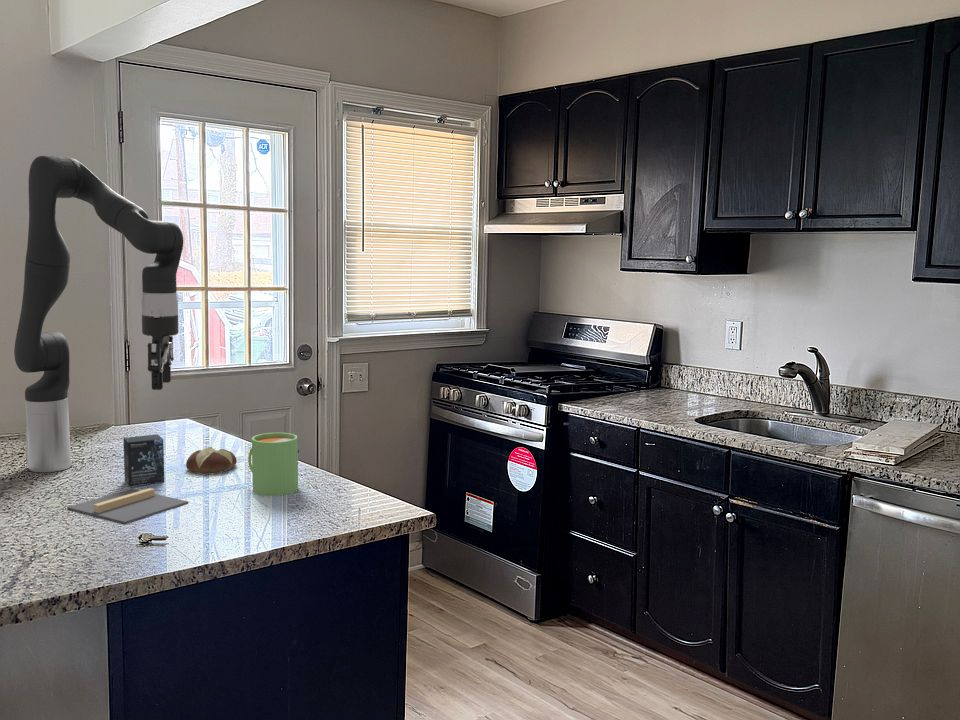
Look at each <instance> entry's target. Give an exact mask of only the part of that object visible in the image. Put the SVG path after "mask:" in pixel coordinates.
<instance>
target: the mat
mask: <svg viewBox="0 0 960 720" xmlns="http://www.w3.org/2000/svg"><path fill="white" fill-rule="evenodd" d="M155 490H156V489H155V488H152V487H151V488H150V487H149V488H145V489H143V490H139V489H137V488H129V489H126V490H122V491H118V492H115V493H111V494H108V495H105V496H101V497H97V498H94V499H91V500H87V501H83V502H80V503H76V504H73V505H69V506H67V507H66V508H67V510H70V511H74V512H77V513H82V514H85V515H89V516H93V517H96V518H101V519H104V520H109V521H113V522H117V523H120V524H126V525H127V524H129V523H131V522H134V521H138V520H141V519H144V518H147V517H151V516H153V515H156V514H159V513H162V512H165V511H169V510H172V509H175V508H177V507H181V506H185V505H187V504H189V501H187V500H183V499H180V498H179V499H178V498H174V497H171V496H167V495H161V494H158V493H155Z"/></svg>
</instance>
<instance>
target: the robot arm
mask: <svg viewBox="0 0 960 720" xmlns="http://www.w3.org/2000/svg"><path fill="white" fill-rule="evenodd" d="M58 198H59V199H71V198H75V199H77V200H82V201H84V202H86V203H88V204H90V205H91V206H92V207H93V208H94V211H95V213H96V215H97V216H98V218H100V220H101V221H102V222H103V223H105V224H106V225H108V226H109V227H111V228H112V229H113V230H115V231H117V232H118V233H119V234H122V235H123V236H124V237H125V239H126V240H127V241H128V242H129V243H130V245H132V247H134V248H135V249H137V250H138V251H139V252H142V253H144V254H152V255H153V254H155V258H154V261H153V263H151V264H148V265H146V266H144V267H143V268H142V271H141V285H142V295H141V334H143V335H144V336H148V337H149V336H151V337H152V339H151V342H148V344H147V371H148V372H150V374H151V376H150V377H151V389H152V390H153V391H161V390H163V388H164V383H170V382H172V381H171V380H172V374H171V373H172V372H171V371H172V370H171V369H172V365H173V362H174V358H175V357H174V343H173V342H174V340H173V339H174V336H176V335H178V334H179V301H178V296H177V289H178V288H177V287H178V286H177V273H178V269H179V266H180V261H181V257H182V253H183V250H184V249H183V248H184V234H183V232H182V229H181V228H180V226H179V225H178V224H177V223H175V222H174V221H170V220H168V221H167V220H150V219H149V215H148V214H147V212H146V211H145V210H144V209H143V208H142V207H141V206H138V205H137V204H136V203H134V202H132V201H131V200H130V199H127V198H126V197H124V196H122V195H120V193H117V192H116V191H115V190H114V189H112V188H111V187H110V186H108V185H107V184H106V183H105V182H103V181H102V180H101V179H100V178H99V177H98V176H96V175H95V173H93V172H92V171H91V170H90V169H89V168H88V167H86V165H84V164H83V163H81V162H80V161H79V160H77V159H76V158H73V157H68V156H67V157H66V156H58V155H57V156H55V155H39V156H37V157H35V158H34V159H33V160H32V162H31V164H30V167H29V172H28V233H27V246H26V252H25V253H26V254H25V264H24V276H23V291H22V300H21V307H20V308H21V309H20V314H19V320H18V325H17V330H16V331H17V332H16V335H15V340H14V353H13V354H14V361H15V365H16V366H17V368H18V369H19V370H20V371H21V372H22V373H38V372H39V373H40V372H43V373H42V376H41V377H40V378H39V379H38V380H37V381H36V382H33V383H32V384H31V385H28V386H27V387H26V388H25V390H24V400H25V416H26V417H25V418H26V419H25V420H26V429H25V432H24V433H25V434H24V435H25V447H26V448H25V449H26V450H25V451H26V452H25V453H26V465H27V468H28V469H29V471H31V472H34V473H52V472H53V473H54V472H59V471H63V470H66V469H69V468H71V467H72V457H71V456H72V455H71V437H70V435H71V434H70V419H69V418H70V413H69V398H68V397H69V395H68V391H69V387H70V367H71V366H70V364H71V363H70V361H71V360H70V358H71V357H70V356H71V355H70V348H69V343H68V340H67V339H66V338H67V337H66V336H65V335H64V334H62V333H61V332H59V331H48V332H47V331H46V332H42V330H43V326H44V322H45V320H46V317H47V315H48V314H49V312H50V310H51V309H52V308H53V306H54V305H55V304H56V302H57V301H58V299H60V297H61V296H62V294H63V293H64V291H65V290H66V287H67V285H68V282H69V277H70V276H69V275H70V263H71V253H70V250H69V248H68V245H67V243H66V241H65V239H64V237H63V236H62V234H61V232H60V229H59V227H58V223H57V218H56V211H57V209H56V208H57V206H56V205H57V199H58ZM156 364H157V365H156Z"/></svg>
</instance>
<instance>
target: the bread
mask: <svg viewBox="0 0 960 720" xmlns="http://www.w3.org/2000/svg"><path fill="white" fill-rule="evenodd" d="M237 462H238V461H237V456H236V455H235V454H234V452H232V451H230V450H227V449H224V448H220V449H218V450H217V449H215V448H214V447H212V446H208V447H205V448H203V449H199V450H196V451H193V453H191V454H190V455H189V457H187V461H186V463H185V466H186V470H187V471H189V472H191V473H194V474H211V473H215V474H218V473H224V472H227V471H228V470H230V469H232V468H233V467H236V465H237Z"/></svg>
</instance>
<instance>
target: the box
mask: <svg viewBox="0 0 960 720" xmlns="http://www.w3.org/2000/svg"><path fill="white" fill-rule="evenodd" d="M164 447H165V445H164V438H163V437H161V436H160V435H159V434H157V433H156V434H148V435H137V436H131V437H130V436H126V437H125V436H124V437H123V467H124V468H123V469H124V473H123V474H124V482H125V483H126V484H127V485H128V487H129V488H132V487H135V486H143V485H151V484H152V485H153V484H162V483H163V484H164V483H165V451H164V450H165V449H164Z"/></svg>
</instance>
